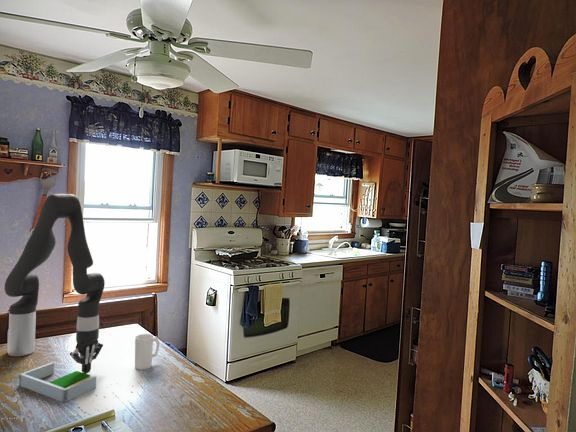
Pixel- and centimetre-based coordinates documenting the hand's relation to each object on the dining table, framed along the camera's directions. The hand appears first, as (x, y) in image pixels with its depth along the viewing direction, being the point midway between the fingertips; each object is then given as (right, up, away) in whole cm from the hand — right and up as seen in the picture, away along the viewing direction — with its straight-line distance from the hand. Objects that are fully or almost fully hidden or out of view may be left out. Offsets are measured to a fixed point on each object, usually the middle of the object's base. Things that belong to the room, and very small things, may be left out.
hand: (86, 372), depth 149 cm
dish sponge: (-2, -2, -9) cm, 10 cm away
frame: (-5, -1, -10) cm, 11 cm away
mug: (+19, -2, +11) cm, 22 cm away
